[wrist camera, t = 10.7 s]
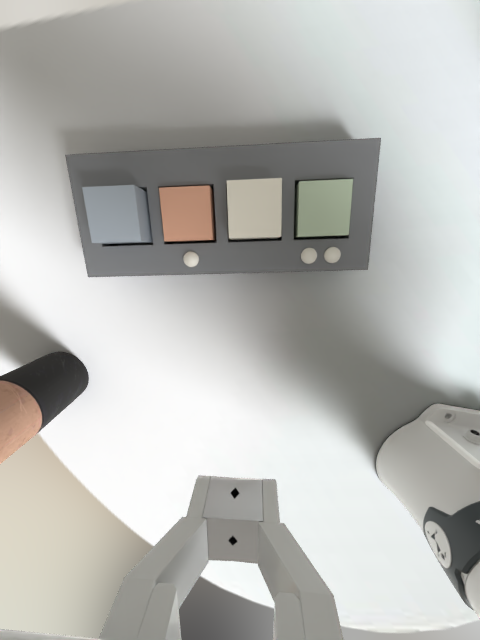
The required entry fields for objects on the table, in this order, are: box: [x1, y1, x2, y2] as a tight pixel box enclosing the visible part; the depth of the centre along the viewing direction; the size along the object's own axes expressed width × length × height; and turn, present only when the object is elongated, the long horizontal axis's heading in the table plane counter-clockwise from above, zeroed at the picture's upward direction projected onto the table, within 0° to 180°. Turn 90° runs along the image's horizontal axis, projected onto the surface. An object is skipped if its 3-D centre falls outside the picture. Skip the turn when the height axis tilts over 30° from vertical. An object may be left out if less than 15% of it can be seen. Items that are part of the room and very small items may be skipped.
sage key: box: [294, 179, 353, 239], centre depth 26 cm, size 5×5×4 cm
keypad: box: [65, 138, 381, 277], centre depth 27 cm, size 30×12×4 cm, turn 92°
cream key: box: [227, 178, 282, 240], centre depth 25 cm, size 5×5×4 cm
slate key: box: [82, 185, 153, 244], centre depth 26 cm, size 5×5×4 cm
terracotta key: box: [159, 185, 217, 243], centre depth 27 cm, size 5×5×4 cm
